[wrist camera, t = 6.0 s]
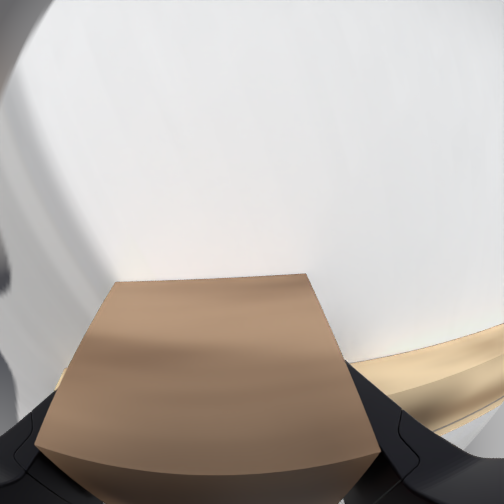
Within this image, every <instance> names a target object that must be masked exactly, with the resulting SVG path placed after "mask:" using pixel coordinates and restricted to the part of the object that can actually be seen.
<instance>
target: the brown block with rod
mask: <svg viewBox="0 0 504 504" xmlns="http://www.w3.org/2000/svg"><path fill="white" fill-rule="evenodd" d="M34 445H35V446H36V447H37V448H38V449H39V450H40V451H41V452H42V453H43V454H44V455H45V456H46V457H48V458H49V459H50V460H51V461H52V462H53V463H54V464H55V465H56V466H58V467H59V468H60V469H61V470H62V471H63V472H65V473H66V474H67V475H68V476H69V477H71V478H72V479H73V480H74V481H76V482H77V483H78V484H79V485H81V486H82V487H83V488H85V489H86V490H87V491H89V492H90V493H91V494H93V495H94V496H95V497H97V498H98V499H100V500H101V501H103V502H104V503H106V504H338V503H339V502H340V501H341V500H342V499H343V498H344V496H345V495H346V494H347V493H348V492H349V491H350V490H351V489H352V487H353V486H354V485H355V484H356V483H357V482H358V480H359V479H360V478H361V477H362V475H363V474H364V473H365V472H366V470H367V469H368V468H369V467H370V465H371V464H372V463H373V461H374V460H375V459H376V457H377V456H378V455H379V453H380V452H381V450H380V448H379V445H378V442H377V440H376V437H375V434H374V432H373V429H372V427H371V424H370V422H369V419H368V417H367V414H366V411H365V409H364V406H363V404H362V401H361V399H360V397H359V394H358V392H357V389H356V387H355V384H354V382H353V379H352V377H351V375H350V372H349V370H348V367H347V365H346V363H345V360H344V358H343V356H342V353H341V351H340V349H339V346H338V344H337V342H336V339H335V337H334V335H333V332H332V330H331V328H330V326H329V323H328V321H327V319H326V317H325V314H324V312H323V310H322V308H321V305H320V303H319V301H318V299H317V297H316V294H315V292H314V290H313V288H312V286H311V283H310V281H309V279H308V277H307V275H306V274H291V275H275V276H257V277H238V278H217V279H194V280H168V281H136V282H115V283H114V285H113V287H112V288H111V290H110V292H109V293H108V295H107V297H106V298H105V300H104V302H103V303H102V305H101V307H100V309H99V310H98V312H97V314H96V316H95V317H94V319H93V321H92V323H91V324H90V326H89V328H88V330H87V332H86V334H85V335H84V337H83V339H82V341H81V343H80V345H79V347H78V349H77V350H76V352H75V354H74V356H73V358H72V360H71V362H70V364H69V366H68V368H67V370H66V372H65V374H64V376H63V378H62V381H61V383H60V385H59V387H58V389H57V391H56V393H55V396H54V398H53V400H52V402H51V405H50V407H49V409H48V411H47V414H46V416H45V418H44V421H43V423H42V426H41V428H40V431H39V433H38V436H37V438H36V441H35V444H34Z"/></svg>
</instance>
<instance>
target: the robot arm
mask: <svg viewBox="0 0 504 504" xmlns="http://www.w3.org/2000/svg"><path fill="white" fill-rule="evenodd" d="M345 363H346V365H347V367H348V370H349V372H350V375H351V377H352V379H353V382H354V384H355V387H356V389H357V392H358V394H359V397H360V399H361V401H362V404H363V406H364V409H365V411H366V414H367V417H368V419H369V422H370V424H371V427H372V429H373V432H374V434H375V437H376V440H377V442H378V445H379V448H380V450H381V452H380V453H379V455H378V456H377V457H376V459H375V460H374V461H373V463H372V464H371V465H370V467H369V468H368V469H367V470H366V472H365V473H364V474H363V475H362V477H361V478H360V479H359V480H358V482H357V483H356V484H355V485H354V486H353V487H352V489H351V490H350V491H349V492H348V493H347V494H346V495H345V496H344V498H343V499H344V503H345V504H504V458H481V457H477V456H473V455H471V454H469V453H467V452H465V451H463V450H462V449H460V448H458V447H457V446H455V445H453V444H452V443H450V442H448V441H447V440H445V439H444V438H442V437H440V436H439V435H437V434H436V433H434V432H433V431H431V430H430V429H428V428H427V427H425V426H424V425H423V424H421V423H420V422H419V421H417V420H416V419H415V418H413V417H412V416H411V415H410V414H409V413H407V412H406V411H405V410H402V408H401V407H400V406H399V405H398V404H396V403H395V402H394V401H393V400H392V399H390V398H389V397H388V396H387V395H386V394H384V393H383V392H382V391H381V390H380V389H378V388H377V387H376V386H375V385H374V384H373V383H371V382H370V381H369V380H368V379H367V378H365V377H364V376H363V375H362V374H361V373H360V372H358V371H357V370H356V369H355V368H354V367H353V366H351V365H350V364H349V363H348V362H347V361H346V360H345ZM57 389H58V388H57ZM57 389H56V390H55V391H54V392H53V393H52V394H50V395H49V396H48V397H47V398H46V399H45V400H44V401H42V402H41V403H40V404H39V405H38V406H37V407H36V408H34V409H33V410H32V412H30V413H29V414H27V415H26V416H25V417H24V418H23V419H22V420H21V421H19V422H18V423H17V424H16V425H15V426H14V427H12V428H11V429H9V430H8V431H7V432H6V433H4V434H3V435H2V436H0V504H103V501H101V500H100V499H98V498H97V497H95V496H94V495H93V494H91V493H90V492H89V491H87V490H86V489H85V488H83V487H82V486H81V485H79V484H78V483H77V482H76V481H74V480H73V479H72V478H71V477H69V476H68V475H67V474H66V473H65V472H63V471H62V470H61V469H60V468H59V467H58V466H56V465H55V464H54V463H53V462H52V461H51V460H50V459H49V458H48V457H46V456H45V455H44V454H43V453H42V452H41V451H40V450H39V449H38V448H37V447H36V446H35V445H34V444H35V441H36V438H37V436H38V433H39V431H40V428H41V426H42V423H43V421H44V418H45V416H46V414H47V411H48V409H49V407H50V405H51V402H52V400H53V398H54V396H55V393H56V391H57Z"/></svg>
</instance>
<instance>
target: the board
mask: <svg viewBox="0 0 504 504" xmlns="http://www.w3.org/2000/svg"><path fill="white" fill-rule="evenodd" d="M350 365H351V366H353V367H354V368H355V369H356V370H357V371H358V372H360V373H361V374H362V375H363V376H364V377H365V378H367V379H368V380H369V381H370V382H371V383H373V384H374V385H375V386H376V387H377V388H378V389H380V390H381V391H382V392H383V393H384V394H386V395H387V396H388V397H389V398H390V399H392V400H393V401H394V402H395V403H396V404H398V405H399V406H400V407H401V408H402V410H405V411H406V412H407V413H409V414H410V415H411V416H412V417H413V418H415V419H416V420H417V421H419V422H420V423H421V424H423V425H424V426H425V427H427V428H428V429H430V430H431V431H433V432H434V433H436V434H437V435H439V436H441V435H443V434H446V433H448V432H450V431H452V430H454V429H457V428H459V427H461V426H463V425H465V424H467V423H469V422H471V421H473V420H475V419H476V418H478V417H480V416H482V415H484V414H486V413H487V412H489V411H491V410H493V409H494V408H496V407H498V406H499V405H501V404H502V402H503V401H504V323H503V324H501V325H498V326H495V327H492V328H490V329H487V330H484V331H481V332H478V333H475V334H472V335H469V336H465V337H462V338H459V339H456V340H452V341H449V342H445V343H442V344H438V345H434V346H430V347H427V348H423V349H419V350H415V351H410V352H406V353H402V354H397V355H393V356H388V357H383V358H378V359H373V360H368V361H362V362H356V363H351V364H350ZM66 370H67V368H65V369H64V371H63V373H62V375H61V377H60V379H59V381H58V383H57V386H56V388H55V390H56V389H57V388H58V387H59V385H60V383H61V381H62V378H63V376H64V374H65V372H66ZM55 390H54V391H55Z"/></svg>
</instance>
